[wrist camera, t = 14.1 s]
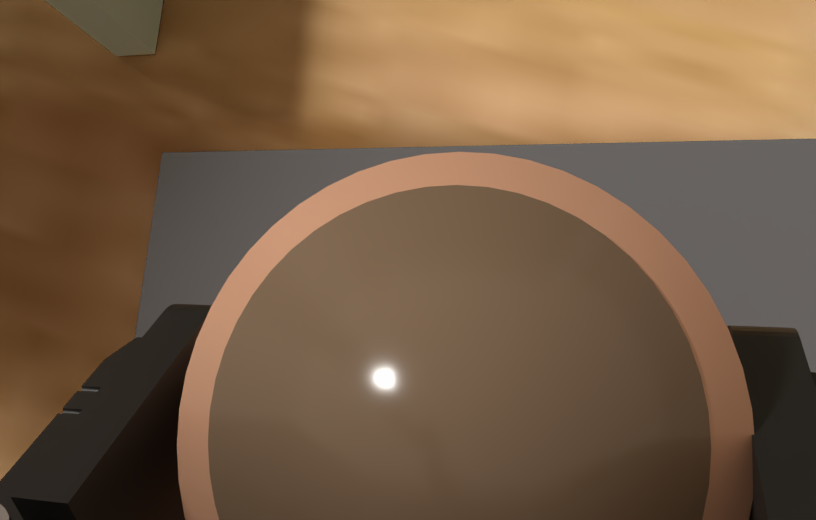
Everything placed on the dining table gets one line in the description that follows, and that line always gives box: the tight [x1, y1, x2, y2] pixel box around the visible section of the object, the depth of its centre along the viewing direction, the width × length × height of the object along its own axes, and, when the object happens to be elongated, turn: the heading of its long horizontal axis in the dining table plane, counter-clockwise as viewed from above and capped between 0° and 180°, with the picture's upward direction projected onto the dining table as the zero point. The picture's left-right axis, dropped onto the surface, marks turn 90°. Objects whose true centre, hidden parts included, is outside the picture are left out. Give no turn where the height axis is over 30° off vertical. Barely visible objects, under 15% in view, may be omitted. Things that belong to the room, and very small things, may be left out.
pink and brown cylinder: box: [177, 152, 754, 520], centre depth 12 cm, size 6×6×8 cm
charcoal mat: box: [135, 139, 816, 372], centre depth 16 cm, size 18×12×1 cm, turn 86°
